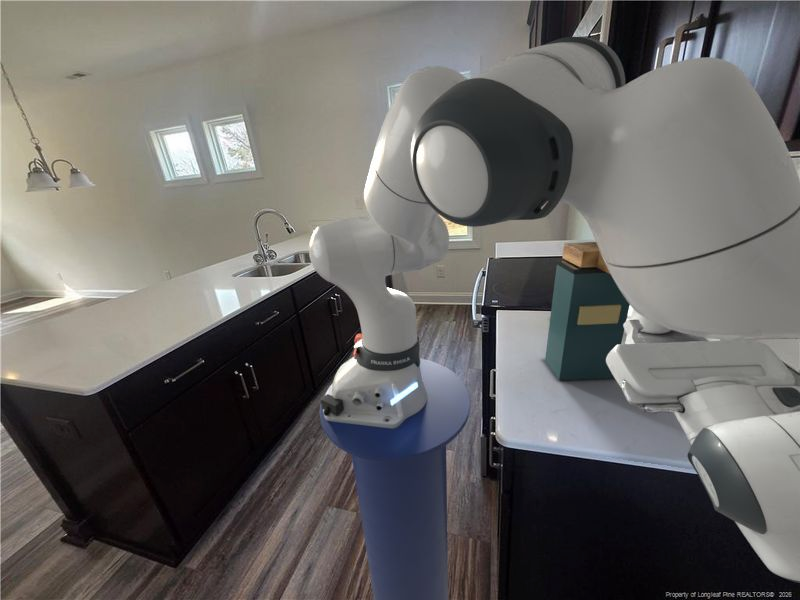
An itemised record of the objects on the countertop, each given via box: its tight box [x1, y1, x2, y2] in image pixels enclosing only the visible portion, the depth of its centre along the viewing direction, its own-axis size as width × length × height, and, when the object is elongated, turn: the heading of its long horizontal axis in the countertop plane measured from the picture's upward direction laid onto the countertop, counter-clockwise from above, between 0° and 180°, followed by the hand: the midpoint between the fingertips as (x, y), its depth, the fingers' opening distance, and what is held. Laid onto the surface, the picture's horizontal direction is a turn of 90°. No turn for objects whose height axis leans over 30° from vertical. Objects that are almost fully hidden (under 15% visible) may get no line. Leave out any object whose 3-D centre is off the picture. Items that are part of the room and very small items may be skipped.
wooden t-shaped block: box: [561, 241, 610, 274], centre depth 60 cm, size 10×18×4 cm, turn 178°
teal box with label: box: [544, 258, 630, 381], centre depth 70 cm, size 13×9×26 cm
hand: (661, 320), depth 48 cm, fingers open, 8 cm apart
